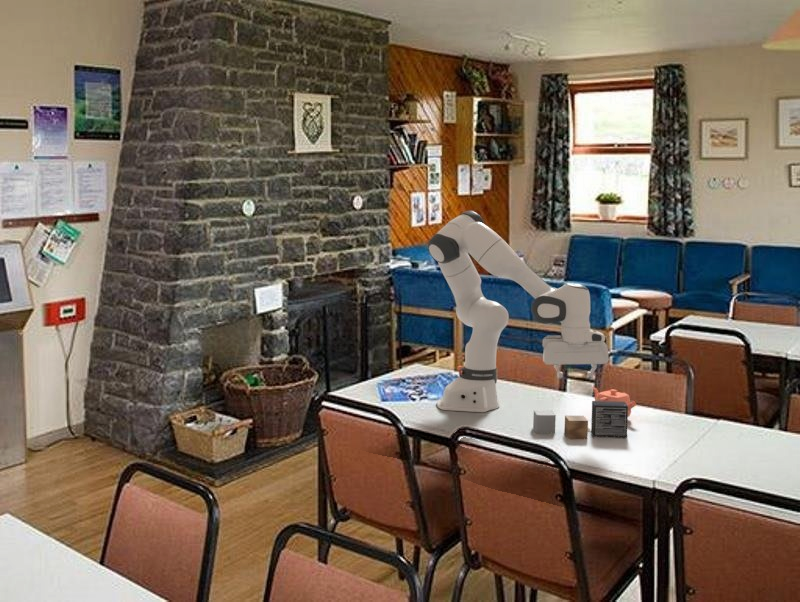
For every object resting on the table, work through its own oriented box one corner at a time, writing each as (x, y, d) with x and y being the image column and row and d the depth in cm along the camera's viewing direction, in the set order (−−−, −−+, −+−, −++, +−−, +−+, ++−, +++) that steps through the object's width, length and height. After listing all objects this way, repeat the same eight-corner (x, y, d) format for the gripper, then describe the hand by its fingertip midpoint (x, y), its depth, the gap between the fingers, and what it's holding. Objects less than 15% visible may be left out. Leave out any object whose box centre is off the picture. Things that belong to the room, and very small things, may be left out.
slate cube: (536, 433, 258) (536, 415, 257) (533, 428, 264) (533, 410, 263) (554, 433, 258) (555, 415, 257) (551, 428, 264) (552, 410, 263)
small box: (623, 432, 260) (625, 400, 258) (627, 438, 253) (629, 406, 252) (590, 431, 261) (591, 399, 259) (593, 437, 254) (594, 404, 253)
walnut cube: (568, 439, 252) (568, 420, 251) (564, 433, 258) (565, 415, 257) (587, 439, 252) (588, 420, 251) (583, 433, 258) (583, 415, 257)
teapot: (632, 415, 280) (633, 386, 279) (635, 424, 268) (636, 395, 267) (590, 413, 283) (591, 384, 281) (591, 422, 271) (592, 392, 270)
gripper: (544, 337, 250) (543, 380, 252) (610, 336, 249) (609, 379, 251) (540, 333, 256) (540, 375, 258) (605, 332, 256) (604, 375, 257)
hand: (575, 377), depth 255 cm, fingers open, 8 cm apart
